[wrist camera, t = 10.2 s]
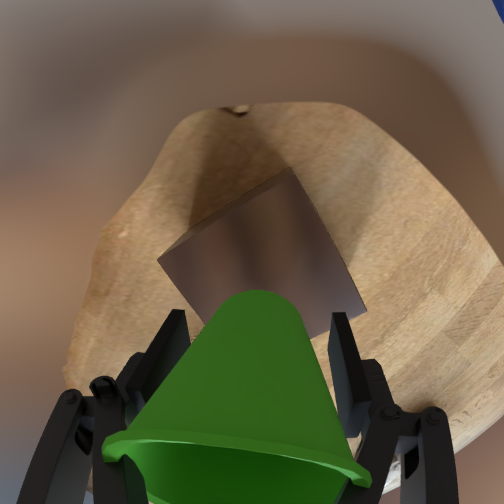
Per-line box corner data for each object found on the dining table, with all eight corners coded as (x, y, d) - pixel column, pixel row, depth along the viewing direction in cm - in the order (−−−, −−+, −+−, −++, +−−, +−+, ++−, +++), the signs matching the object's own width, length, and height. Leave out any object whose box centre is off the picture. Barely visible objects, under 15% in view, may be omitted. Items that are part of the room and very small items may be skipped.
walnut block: (290, 166, 25) (294, 174, 18) (348, 270, 28) (367, 311, 21) (187, 230, 29) (156, 259, 21) (250, 319, 32) (241, 367, 24)
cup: (189, 367, 19) (135, 503, 8) (183, 245, 15) (57, 392, 5) (317, 382, 18) (326, 529, 8) (349, 263, 15) (428, 440, 5)
